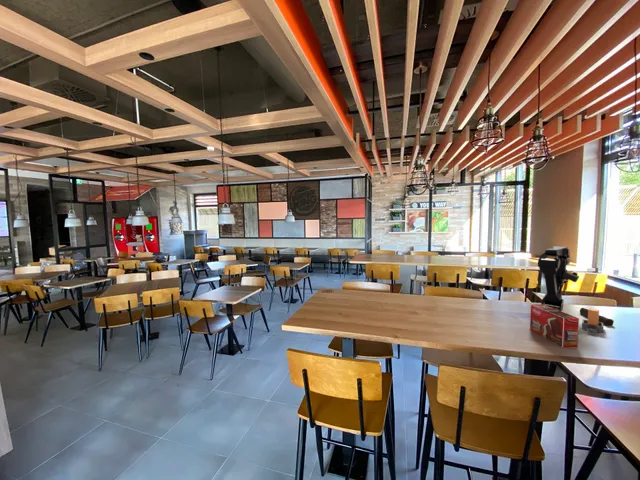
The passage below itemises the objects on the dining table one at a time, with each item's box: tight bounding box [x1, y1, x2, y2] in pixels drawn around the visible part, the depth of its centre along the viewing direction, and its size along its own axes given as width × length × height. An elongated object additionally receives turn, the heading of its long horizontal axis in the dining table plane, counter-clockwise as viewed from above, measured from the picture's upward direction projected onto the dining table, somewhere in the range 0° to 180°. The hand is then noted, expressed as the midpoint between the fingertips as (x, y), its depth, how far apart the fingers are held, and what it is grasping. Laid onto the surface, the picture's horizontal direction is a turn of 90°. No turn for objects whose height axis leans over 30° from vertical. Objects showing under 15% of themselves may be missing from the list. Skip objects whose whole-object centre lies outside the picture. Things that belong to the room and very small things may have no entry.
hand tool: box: [579, 307, 614, 327], centre depth 150 cm, size 19×4×5 cm, turn 170°
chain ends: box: [581, 318, 604, 337], centre depth 137 cm, size 22×8×3 cm, turn 134°
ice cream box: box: [529, 303, 580, 348], centre depth 127 cm, size 20×6×13 cm, turn 176°
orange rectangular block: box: [587, 308, 600, 326], centre depth 137 cm, size 4×4×10 cm
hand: (558, 293), depth 158 cm, fingers open, 9 cm apart
